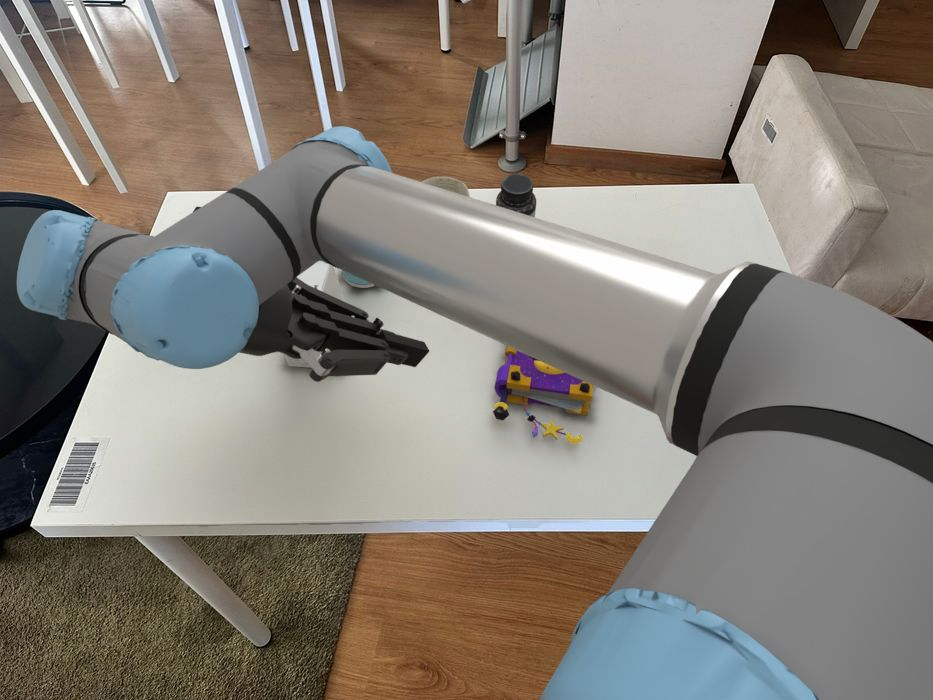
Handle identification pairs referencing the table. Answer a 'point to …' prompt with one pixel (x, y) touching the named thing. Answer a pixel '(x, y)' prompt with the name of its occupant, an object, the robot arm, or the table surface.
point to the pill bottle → (517, 194)
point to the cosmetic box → (324, 281)
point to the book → (540, 390)
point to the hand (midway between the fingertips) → (419, 354)
